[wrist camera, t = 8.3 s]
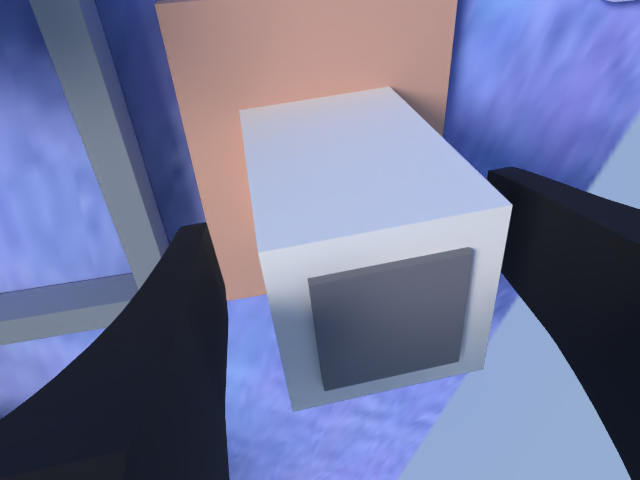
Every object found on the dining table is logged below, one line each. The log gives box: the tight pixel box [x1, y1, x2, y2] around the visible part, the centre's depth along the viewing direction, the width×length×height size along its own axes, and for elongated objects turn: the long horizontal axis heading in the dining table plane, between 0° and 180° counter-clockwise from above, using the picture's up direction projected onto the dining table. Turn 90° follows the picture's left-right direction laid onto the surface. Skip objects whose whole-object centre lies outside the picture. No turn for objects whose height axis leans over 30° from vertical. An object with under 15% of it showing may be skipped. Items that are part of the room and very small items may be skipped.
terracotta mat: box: [155, 0, 458, 301], centre depth 15 cm, size 8×10×1 cm
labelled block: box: [239, 87, 512, 412], centre depth 12 cm, size 4×4×7 cm
